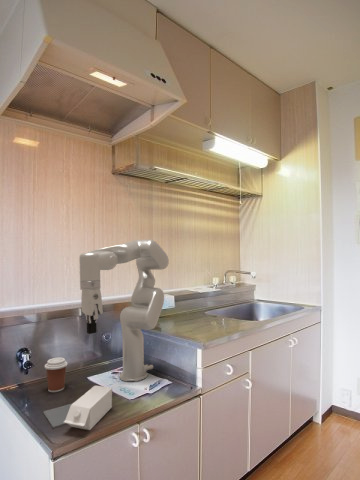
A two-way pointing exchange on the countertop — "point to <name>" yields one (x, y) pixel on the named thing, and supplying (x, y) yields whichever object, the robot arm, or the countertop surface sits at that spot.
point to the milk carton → (90, 408)
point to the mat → (57, 415)
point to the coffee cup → (56, 374)
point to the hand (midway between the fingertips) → (91, 332)
